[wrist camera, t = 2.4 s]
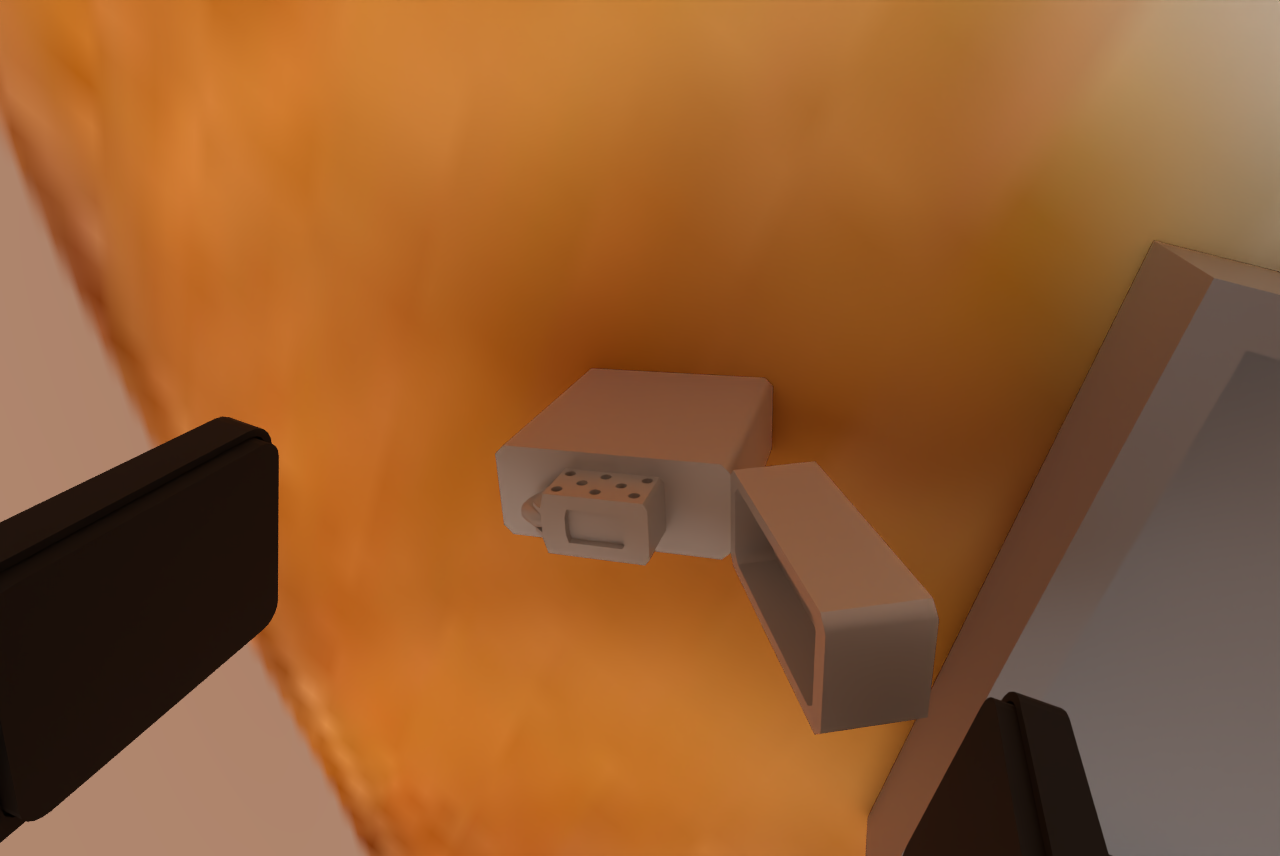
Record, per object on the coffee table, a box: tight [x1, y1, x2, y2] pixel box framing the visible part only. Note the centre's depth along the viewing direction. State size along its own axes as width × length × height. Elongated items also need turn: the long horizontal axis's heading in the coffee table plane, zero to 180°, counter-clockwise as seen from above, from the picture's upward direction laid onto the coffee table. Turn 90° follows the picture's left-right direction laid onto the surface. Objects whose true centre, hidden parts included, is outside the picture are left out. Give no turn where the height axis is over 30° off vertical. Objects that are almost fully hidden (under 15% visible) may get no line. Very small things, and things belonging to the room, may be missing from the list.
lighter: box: [495, 368, 939, 734], centre depth 13 cm, size 7×2×8 cm, turn 93°
